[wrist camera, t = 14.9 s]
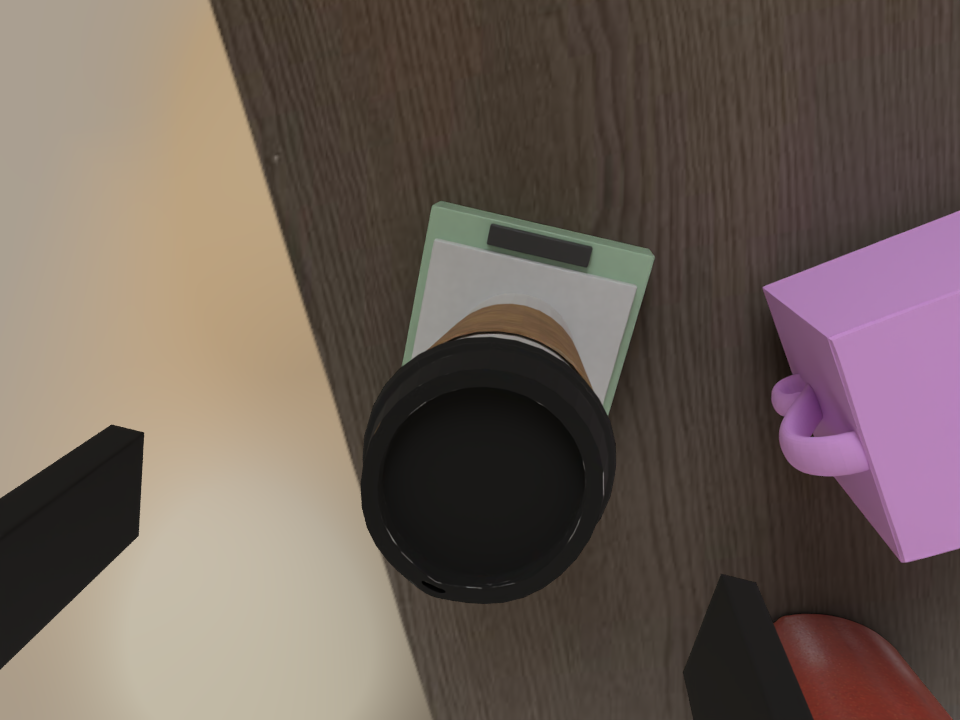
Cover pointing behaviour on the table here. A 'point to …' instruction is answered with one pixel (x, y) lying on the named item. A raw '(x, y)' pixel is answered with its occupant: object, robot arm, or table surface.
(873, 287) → the teapot
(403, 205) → the table surface
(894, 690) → the flower pot
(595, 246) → the kitchen scale
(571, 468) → the coffee cup
